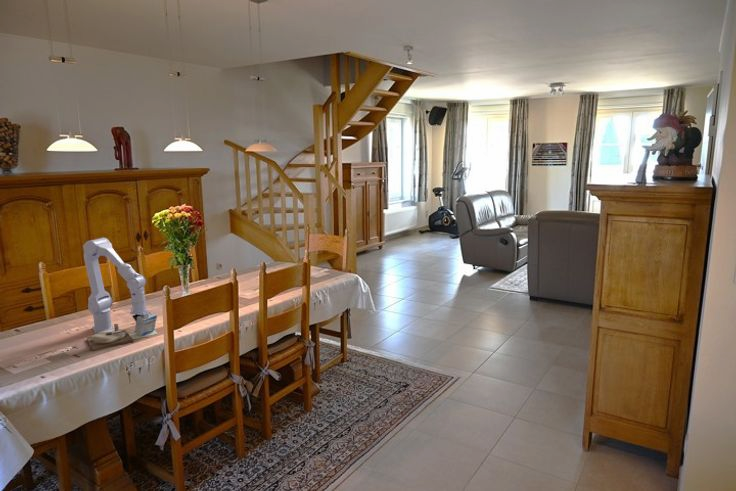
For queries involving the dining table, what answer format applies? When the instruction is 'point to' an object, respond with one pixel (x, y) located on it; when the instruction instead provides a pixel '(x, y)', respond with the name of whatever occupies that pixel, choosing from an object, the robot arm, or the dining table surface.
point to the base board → (104, 345)
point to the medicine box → (145, 324)
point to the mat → (135, 336)
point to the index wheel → (109, 335)
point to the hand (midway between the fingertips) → (141, 329)
